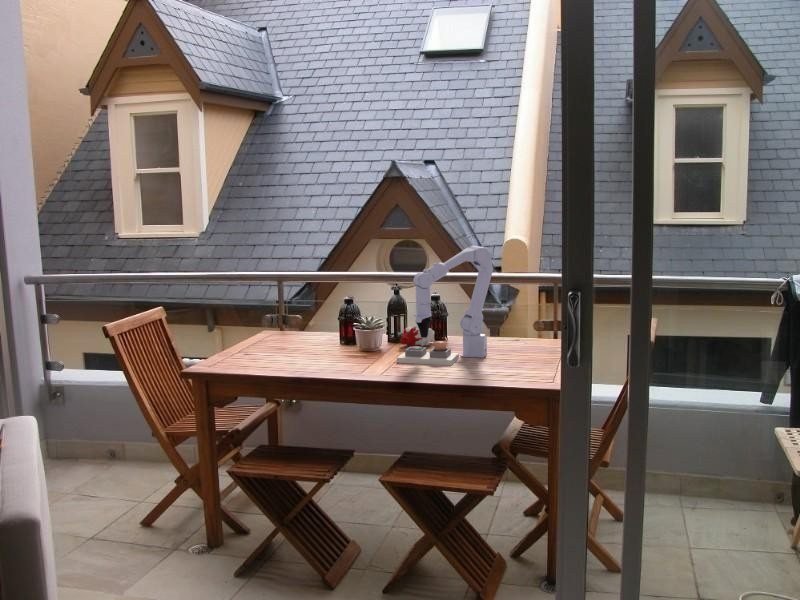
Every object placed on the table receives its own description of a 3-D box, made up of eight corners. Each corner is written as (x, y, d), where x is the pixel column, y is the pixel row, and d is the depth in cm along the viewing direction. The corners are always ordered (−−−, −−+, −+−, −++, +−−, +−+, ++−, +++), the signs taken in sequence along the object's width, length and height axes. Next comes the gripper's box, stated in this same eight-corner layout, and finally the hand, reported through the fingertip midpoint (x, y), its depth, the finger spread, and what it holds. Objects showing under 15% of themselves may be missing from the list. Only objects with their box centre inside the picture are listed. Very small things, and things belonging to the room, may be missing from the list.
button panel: (458, 358, 317) (458, 347, 317) (451, 365, 306) (451, 353, 305) (406, 355, 324) (405, 344, 323) (397, 362, 313) (396, 351, 312)
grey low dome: (423, 352, 318) (422, 346, 317) (419, 355, 313) (419, 349, 313) (412, 352, 319) (411, 346, 319) (408, 354, 315) (408, 348, 314)
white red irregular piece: (435, 342, 344) (415, 353, 333) (414, 339, 351) (393, 350, 340) (433, 323, 342) (413, 333, 331) (412, 320, 349) (391, 330, 337)
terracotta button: (447, 347, 314) (447, 341, 314) (444, 350, 310) (444, 343, 309) (436, 347, 316) (435, 340, 315) (432, 349, 311) (432, 343, 311)
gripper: (418, 300, 320) (419, 333, 322) (407, 306, 306) (409, 340, 309) (435, 300, 318) (436, 333, 320) (425, 306, 304) (426, 341, 306)
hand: (424, 337), depth 314 cm, fingers closed
